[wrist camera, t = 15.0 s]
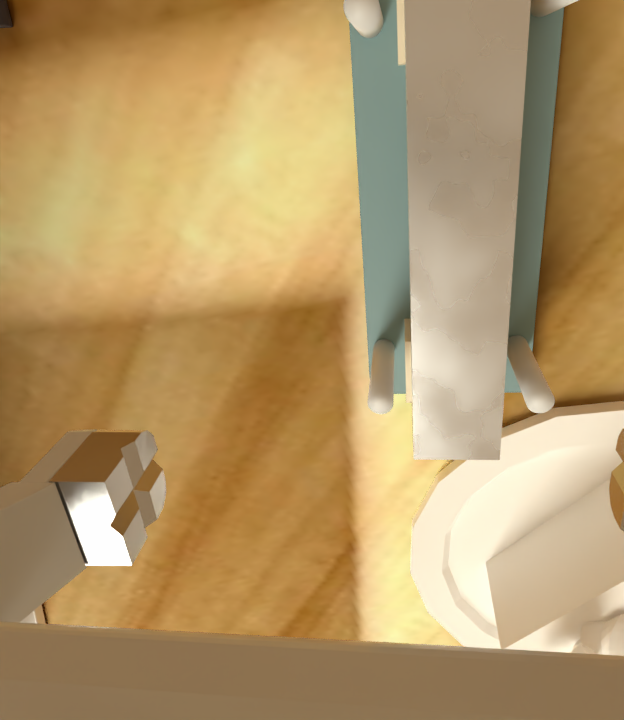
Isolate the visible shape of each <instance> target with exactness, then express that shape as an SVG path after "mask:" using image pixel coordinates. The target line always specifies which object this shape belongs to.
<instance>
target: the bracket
mask: <svg viewBox="0 0 624 720" xmlns="http://www.w3.org/2000/svg"><path fill="white" fill-rule="evenodd" d="M9 27H13V25H12V21H11V17H10V13H9V9H8V5H7V1H6V0H0V28H9Z"/></svg>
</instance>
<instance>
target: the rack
mask: <svg viewBox="0 0 624 720" xmlns="http://www.w3.org/2000/svg"><path fill="white" fill-rule="evenodd" d="M576 1H578V0H531V7H530V22H529V36H528V51H527V66H526V81H525V95H524V110H523V125H522V140H521V154H520V169H519V184H518V199H517V213H516V228H515V243H514V257H513V272H512V287H511V302H510V316H509V331H508V346H507V361H506V375H505V390H504V392H522V394H523V397H524V399H525V402H526V404H527V407H528V408H529V410H531V411H532V412H534V413H545V412H547V411H549V410H550V409H551V408H552V407H553V406H554V403H555V399H554V396H553V394H552V392H551V390H550V388H549V386H548V384H547V382H546V380H545V378H544V376H543V374H542V372H541V370H540V368H539V365H538V363H537V361H536V359H535V357H534V355H533V353H532V350H533V339H534V328H535V317H536V307H537V296H538V285H539V274H540V263H541V252H542V242H543V231H544V220H545V209H546V198H547V188H548V177H549V166H550V155H551V144H552V134H553V123H554V112H555V101H556V90H557V80H558V69H559V58H560V47H561V36H562V25H563V15H564V7H565V6H567V5H569V4H572V3H574V2H576ZM344 12H345V15H346V17H347V19H348V20H349V25H350V42H351V60H352V77H353V95H354V112H355V129H356V147H357V164H358V181H359V199H360V216H361V234H362V251H363V268H364V286H365V303H366V321H367V338H368V355H369V373H370V386H369V395H368V407H369V408H370V410H371V411H373V412H374V413H377V414H385V413H387V412H389V411H390V410H391V409H392V407H393V394H406V403H412V376H411V326H410V275H409V225H408V175H407V125H406V75H405V24H404V0H344Z"/></svg>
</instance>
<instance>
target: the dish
mask: <svg viewBox="0 0 624 720" xmlns="http://www.w3.org/2000/svg"><path fill="white" fill-rule="evenodd" d="M623 428H624V401H616V402H606V403H596V404H587V405H577V406H567V407H557V408H552V409H550V410H549V411H547V412H545V413H539V414H536V415H534V416H531V417H529V418H526V419H524V420H521V421H519V422H516V423H514V424H511V425H508V426H506V427H503V428H502V434H501V449H500V460H453V461H452V462H451V463H450V464H449V465H447V466H446V467H445V468H444V469H442V470H441V471H440V472H439V473H438V474H437V475H436V477H435V479H434V480H433V482H432V484H431V486H430V488H429V489H428V491H427V493H426V495H425V497H424V498H423V500H422V502H421V504H420V506H419V507H418V509H417V511H416V513H415V514H414V516H413V518H412V536H411V555H410V573H411V575H412V578H413V580H414V582H415V584H416V587H417V589H418V591H419V593H420V596H421V598H422V600H423V602H424V605H425V607H426V609H427V611H428V613H429V614H430V615H431V616H432V617H433V618H434V619H435V620H436V621H437V622H438V623H440V624H441V625H442V626H443V627H444V628H445V629H446V630H447V631H448V632H449V633H450V634H451V635H452V636H453V637H454V638H455V639H456V640H457V641H459V642H460V643H461V644H462V645H463V646H465V647H480V648H498V649H515V650H533V651H550V652H568V653H586V654H603V655H621V656H624V531H622V530H621V529H620V528H619V526H618V524H617V522H616V520H615V518H614V515H613V512H612V508H611V505H610V493H609V486H610V479H611V472H612V471H613V470H614V469H615V468H616V467H617V466H619V465H620V464H621V463H622V462H623V461H622V459H621V458H620V456H619V454H618V453H617V451H616V445H617V440H618V436H619V434H620V432H621V431H622V429H623Z"/></svg>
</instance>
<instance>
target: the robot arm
mask: <svg viewBox="0 0 624 720" xmlns="http://www.w3.org/2000/svg"><path fill="white" fill-rule="evenodd" d="M157 450H158V449H157V446H156V443H155V439H154V436H153V435H152V434H151V433H150V432H149V431H147V430H73V431H69V432H67V433H66V434H65V435H64V436H63V437H62V438H61V439H60V440H59V441H58V442H57V443H56V444H55V445H54V446H53V447H52V449H51V450H50V451H49V452H48V453H47V454H46V455H45V456H44V457H43V458H42V459H41V460H40V461H39V462H38V463H37V464H36V465H35V466H34V467H33V468H32V469H31V470H30V471H29V472H28V474H27V475H26V476H25V477H24V478H23V479H22V480H21V481H20V482H11V483H9V484H6V485H4V486H2V487H0V720H624V656H621V655H603V654H586V653H568V652H550V651H533V650H515V649H498V648H480V647H462V646H445V645H427V644H408V643H389V642H371V641H352V640H333V639H315V638H296V637H278V636H259V635H240V634H222V633H203V632H185V631H167V630H148V629H130V628H112V627H94V626H75V625H57V624H46V623H45V618H44V613H43V608H42V604H43V603H44V602H45V601H46V600H48V599H49V598H50V597H51V596H52V595H54V594H55V593H56V592H57V591H59V590H60V589H61V588H62V587H63V586H65V585H66V584H67V583H68V582H70V581H71V580H72V579H73V578H75V577H76V576H77V575H78V574H79V573H81V572H82V571H83V570H84V569H86V565H118V566H132V564H133V563H134V561H135V559H136V557H137V555H138V553H139V552H140V550H141V548H142V546H143V544H144V543H145V541H146V539H147V534H146V530H145V527H147V526H148V525H150V524H151V523H152V522H154V521H155V520H157V519H158V517H159V515H160V513H161V511H162V509H163V506H164V501H165V496H166V480H165V476H164V472H163V469H162V468H161V467H160V466H159V465H158V464H157V463H156V462H155V461H154V460H152V459H153V458H154V456H155V454H156V452H157ZM616 451H617V453H618V454H619V456H620V458H621V459H622V461H623V462H622V463H621V464H620V465H619V466H617V467H616V468H615V469H614V470H613V471H612V472H611V479H610V486H609V493H610V505H611V508H612V512H613V515H614V518H615V520H616V522H617V524H618V526H619V528H620V529H621V530H622V531H624V428H623V429H622V431H621V432H620V434H619V436H618V440H617V445H616Z"/></svg>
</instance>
